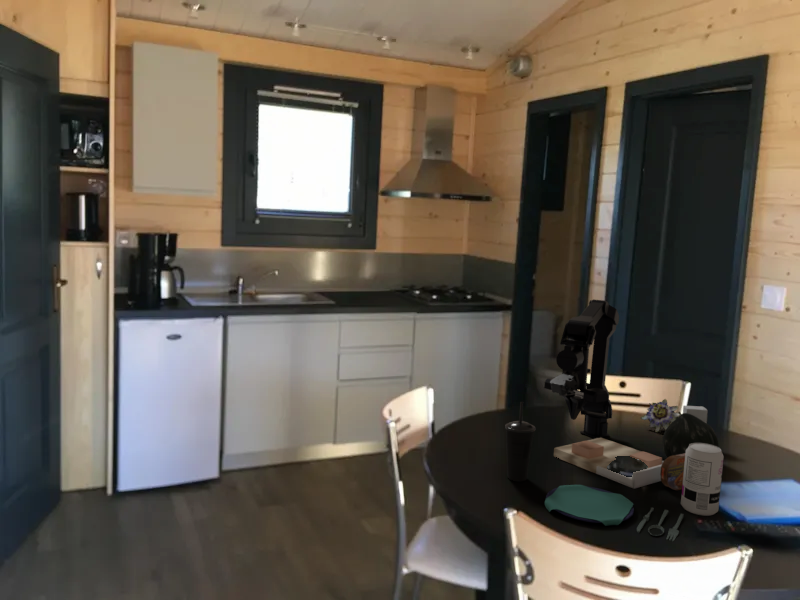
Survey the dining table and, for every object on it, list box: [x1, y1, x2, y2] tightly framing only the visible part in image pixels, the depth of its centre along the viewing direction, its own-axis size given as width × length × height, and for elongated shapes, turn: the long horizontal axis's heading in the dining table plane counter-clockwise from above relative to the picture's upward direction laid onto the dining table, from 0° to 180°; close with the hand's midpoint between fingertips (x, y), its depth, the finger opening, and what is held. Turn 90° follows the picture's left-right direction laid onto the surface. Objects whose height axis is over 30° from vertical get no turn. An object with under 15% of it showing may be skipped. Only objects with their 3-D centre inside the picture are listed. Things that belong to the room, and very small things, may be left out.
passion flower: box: [640, 398, 682, 433], centre depth 231 cm, size 11×11×12 cm
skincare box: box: [682, 405, 708, 424], centre depth 215 cm, size 6×4×12 cm
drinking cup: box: [504, 401, 536, 482], centre depth 182 cm, size 8×8×20 cm
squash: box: [662, 412, 720, 458], centre depth 200 cm, size 14×15×15 cm
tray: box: [595, 460, 665, 490], centre depth 190 cm, size 12×20×4 cm, turn 125°
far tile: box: [630, 451, 663, 468], centre depth 195 cm, size 6×6×2 cm
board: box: [553, 437, 642, 474], centre depth 201 cm, size 15×20×2 cm
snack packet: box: [660, 453, 685, 491], centre depth 182 cm, size 15×3×8 cm, turn 117°
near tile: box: [571, 440, 604, 459], centre depth 197 cm, size 6×6×2 cm
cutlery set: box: [544, 484, 684, 542], centre depth 163 cm, size 20×30×2 cm, turn 59°
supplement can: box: [680, 443, 725, 516], centre depth 167 cm, size 8×8×15 cm
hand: (573, 419), depth 201 cm, fingers closed
